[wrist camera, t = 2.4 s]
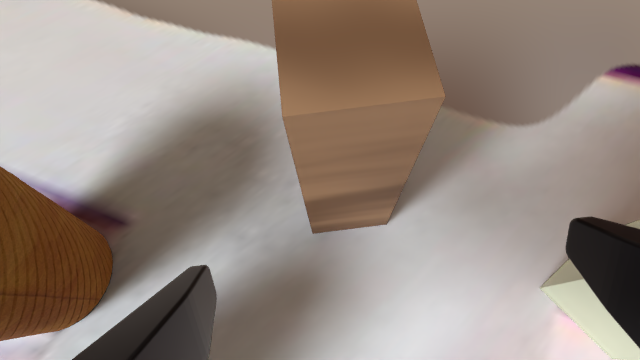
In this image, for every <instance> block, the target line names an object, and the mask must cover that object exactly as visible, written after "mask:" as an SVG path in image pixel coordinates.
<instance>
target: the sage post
mask: <svg viewBox="0 0 640 360" xmlns="http://www.w3.org/2000/svg"><path fill="white" fill-rule="evenodd" d="M626 226H630V227H634V228H638V229H640V220H637V221H634V222H632V223H629V224H626ZM540 289H541V290H542V291H543V292H544V293H545V294H546V295H547V296H548V297H549V298H550V299H551V300H552V301H553V302H554V303H555V304H556V305H557V306H558V307H559V308H560V309H561V310H562V311H563V312H564V313H565V314H566V315H567V316H568V317H570V318H571V319H572V320H573V321H574V322H575V323H576V324H577V325H578V326H579V327H580V328H581V329H582V330H583V331H584V332H585V333H586V334H587V335H588V336H589V337H590V338H591V339H592V340H593V341H594V342H595V343H596V344H597V345H598V346H599V347H600V348H601V349H602V350H603V351H604V352H605V353H606V354H607V355H608V356H609V357H610V358H611V359H620V360H640V349H639V347H638V346H637V345H636V344H635V343H634V342H633V340H632V339H631V338H630V337H629V336H628V335H627V334H626V332H625V331H624V330H623V329H622V328H621V327H620V325H619V324H618V323H617V322H616V321H615V320H614V319H613V317H612V316H611V315H610V314H609V312H608V311H607V310H606V309H605V307H604V306H603V305H602V303H601V302H600V301H599V299H598V298H597V297H596V295H595V294H594V292H593V291H592V290H591V288H590V287H589V285H588V284H587V283H586V281H585V280H584V278H583V277H582V276H581V274H580V273H579V271H578V270H577V269H576V267H575V266H574V264H573V263H572V262H571V260H570V259H568V260H567V261H566V262H565V263H564V264H563V265H562V266H561V267H560V268H559V269H558V270H557V271H556V272H555V273H554V274H553V275H552V276H551V277H550V278H549V279H548V280H547V281H546V282H545V283H544V284H543V285H542V286H541V287H540Z"/></svg>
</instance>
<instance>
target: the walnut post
mask: <svg viewBox="0 0 640 360" xmlns="http://www.w3.org/2000/svg"><path fill="white" fill-rule="evenodd" d="M272 8H273V19H274V29H275V41H276V52H277V63H278V74H279V85H280V96H281V107H282V117H283V121H284V125H285V129H286V133H287V137H288V140H289V144H290V148H291V152H292V156H293V160H294V164H295V167H296V171H297V175H298V179H299V183H300V187H301V191H302V194H303V198H304V202H305V206H306V210H307V214H308V218H309V221H310V225H311V229H312V233H313V234H314V233H322V232H330V231H338V230H346V229H353V228H361V227H369V226H377V225H385V224H387V222H388V220H389V218H390V216H391V213H392V211H393V209H394V207H395V205H396V203H397V200H398V198H399V196H400V194H401V192H402V190H403V187H404V185H405V183H406V181H407V179H408V177H409V175H410V172H411V170H412V168H413V166H414V164H415V162H416V159H417V157H418V155H419V153H420V151H421V149H422V146H423V144H424V142H425V140H426V138H427V136H428V133H429V131H430V129H431V127H432V125H433V123H434V120H435V118H436V116H437V114H438V112H439V110H440V107H441V105H442V103H443V101H444V99H445V97H446V96H445V93H444V90H443V86H442V83H441V80H440V76H439V73H438V70H437V66H436V63H435V60H434V57H433V53H432V50H431V47H430V43H429V40H428V37H427V34H426V30H425V27H424V23H423V20H422V17H421V14H420V11H419V7H418V4H417V1H416V0H272Z"/></svg>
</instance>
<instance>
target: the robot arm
mask: <svg viewBox="0 0 640 360" xmlns="http://www.w3.org/2000/svg"><path fill="white" fill-rule="evenodd" d="M566 253H567V255H568V257H569V259H570V260H571V262H572V263H573V264H574V266H575V267H576V269H577V270H578V271H579V273H580V274H581V276H582V277H583V278H584V280H585V281H586V283H587V284H588V285H589V287H590V288H591V290H592V291H593V292H594V294H595V295H596V297H597V298H598V299H599V301H600V302H601V303H602V305H603V306H604V307H605V309H606V310H607V311H608V312H609V314H610V315H611V316H612V317H613V319H614V320H615V321H616V322H617V323H618V324H619V325H620V327H621V328H622V329H623V330H624V331H625V332H626V334H627V335H628V336H629V337H630V338H631V339H632V340H633V342H634V343H635V344H636V345H637V346H638V347H639V349H640V229H638V228H634V227H630V226H626V225H622V224H619V223H615V222H611V221H607V220H603V219H599V218H595V217H581V218H575V219H573V220H572V221H571V222H570V225H569V230H568V236H567V242H566ZM216 300H217V297H216V290H215V286H214V283H213V279H212V276H211V272H210V269H209V267H208V266H207V265H200V266H192V267H189V268H188V269H187V270H186V271H184V272H183V273H182V274H180V275H179V276H178V277H177V278H175V279H174V280H173V281H171V282H170V283H169V284H168V285H166V286H165V287H164V288H163V289H161V290H160V291H159V292H157V293H156V294H155V295H154V296H152V297H151V298H150V299H149V300H147V301H146V302H145V303H143V304H142V305H141V306H140V307H138V308H137V309H136V310H135V311H133V312H132V313H131V314H129V315H128V316H127V317H126V318H124V319H123V320H122V321H121V322H119V323H118V324H117V325H115V326H114V327H113V328H112V329H110V330H109V331H108V332H106V333H105V334H104V335H103V336H101V337H100V338H99V339H98V340H96V341H95V342H94V343H92V344H91V345H90V346H89V347H87V348H86V349H85V350H84V351H82V352H81V353H80V354H78V355H77V356H76V357H75V358H73V359H72V360H208V358H209V352H210V345H211V338H212V330H213V323H214V316H215V308H216Z"/></svg>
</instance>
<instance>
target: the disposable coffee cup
mask: <svg viewBox="0 0 640 360" xmlns="http://www.w3.org/2000/svg"><path fill="white" fill-rule="evenodd" d="M112 264H113V260H112V253H111V250H110V247H109V245H108V242H107V241H106V239H105V238H104V236H103V235H101V234H100V233H99V232H98V231H97V230H95V229H93V228H92V227H90V226H89V225H87V224H86V223H84V222H83V221H81V220H80V219H78V218H77V217H75V216H74V215H72V214H71V213H69V212H68V211H66V210H65V209H64V208H62V207H61V206H59V205H58V204H56V203H55V202H53V201H52V200H50V199H49V198H47V197H46V196H44V195H43V194H41V193H39V192H38V191H36V190H35V189H33V188H32V187H30V186H29V185H27V184H26V183H24V182H23V181H21V180H20V179H19V178H17V177H16V176H15V175H13V174H11V173H10V172H8V171H6V170H5V169H3V168H2V167H0V341H3V340H8V339H14V338H19V337H25V336H30V335H36V334H42V333H48V332H54V331H59V330H62V329H65V328H67V327H70V326H71V325H73V324H75V323H76V322H78V321H80V320H81V319H83V318H84V317H85V316H86V315H87V314H89V313H90V312H91V311H92V309H93V308H94V307H95V306H96V305H97V304H98V302H99V301H100V299H101V298H102V296H103V294H104V293H105V291H106V289H107V287H108V284H109V282H110V278H111V274H112Z"/></svg>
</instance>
